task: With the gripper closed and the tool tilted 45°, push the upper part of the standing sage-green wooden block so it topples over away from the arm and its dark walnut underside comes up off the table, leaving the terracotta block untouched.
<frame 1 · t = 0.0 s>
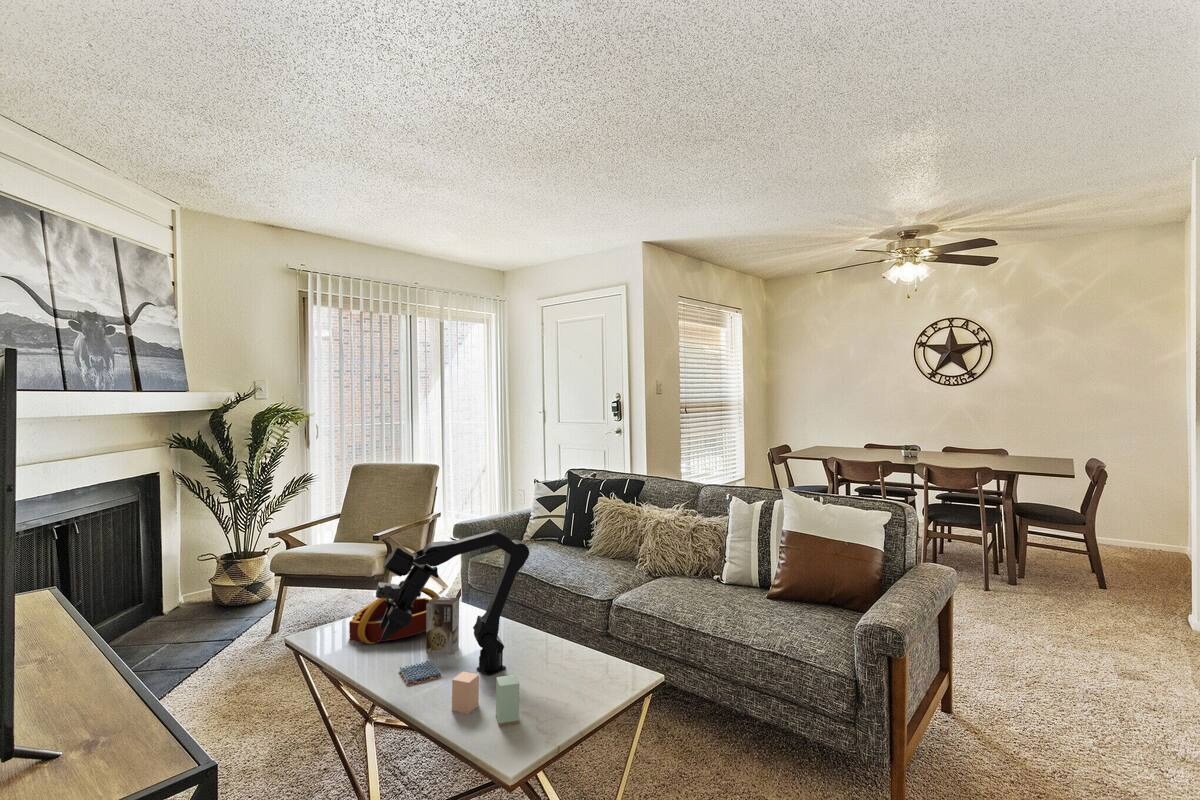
hand: (381, 633, 163), 15 cm above the table, tool tilted 35°, fingers open, 9 cm apart
woven mat: (420, 677, 170), on the table
coffee box: (442, 650, 188), on the table
terracotta block: (465, 707, 152), on the table
sage block: (507, 720, 146), on the table
decorative basket: (402, 631, 205), on the table
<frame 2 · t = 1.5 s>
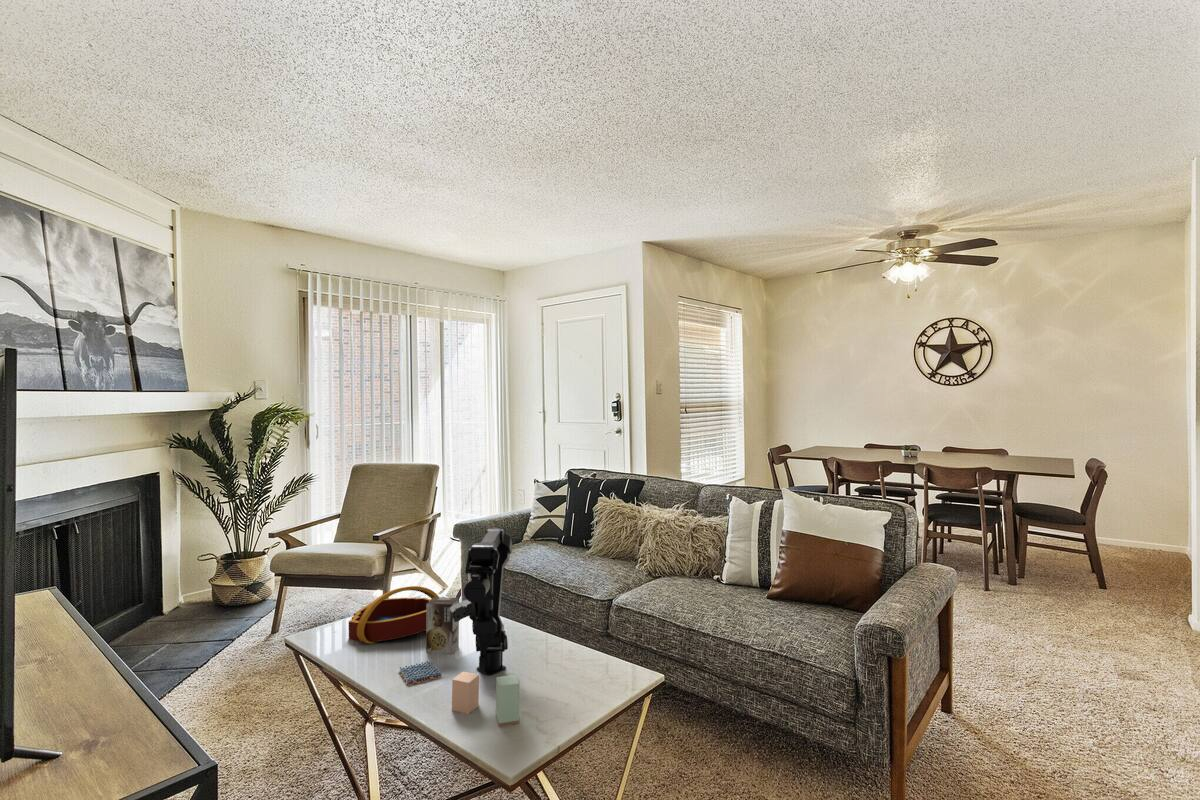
hand: (481, 647, 159), 13 cm above the table, tool pointing down, fingers open, 8 cm apart
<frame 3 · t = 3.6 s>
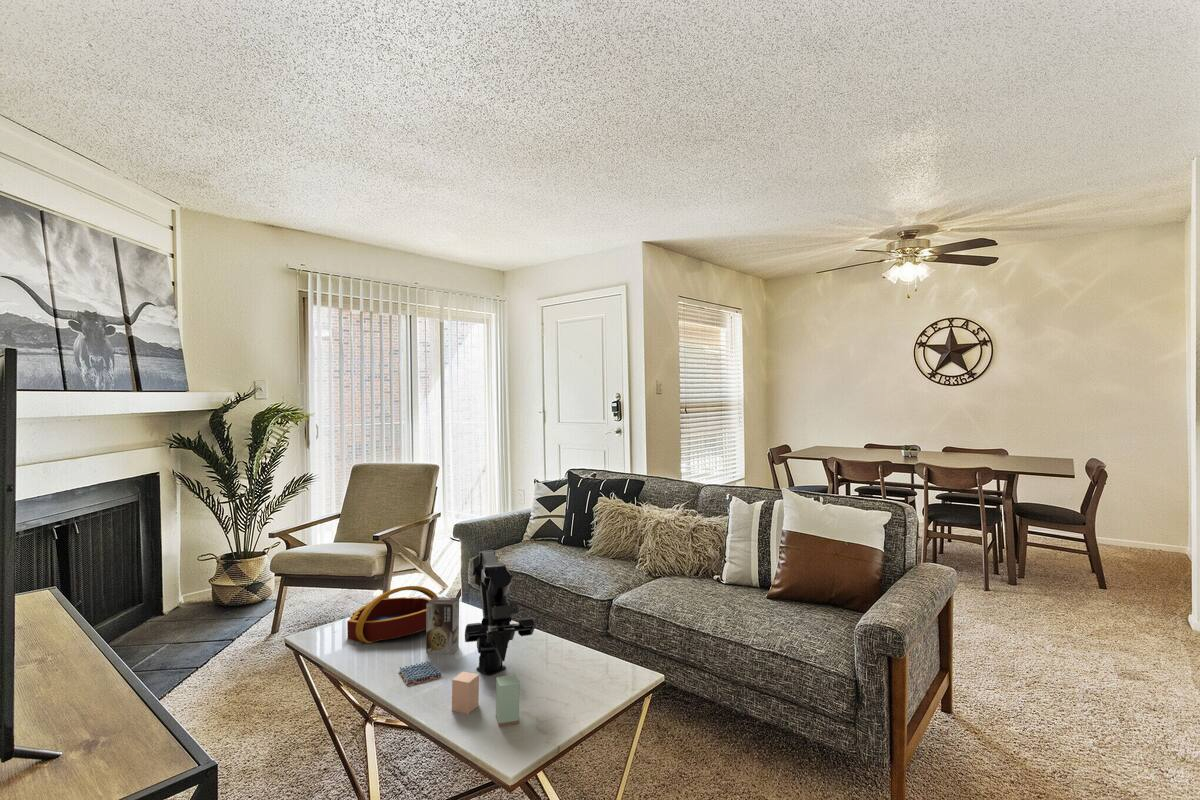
hand: (503, 660, 153), 12 cm above the table, tool tilted 45°, fingers closed
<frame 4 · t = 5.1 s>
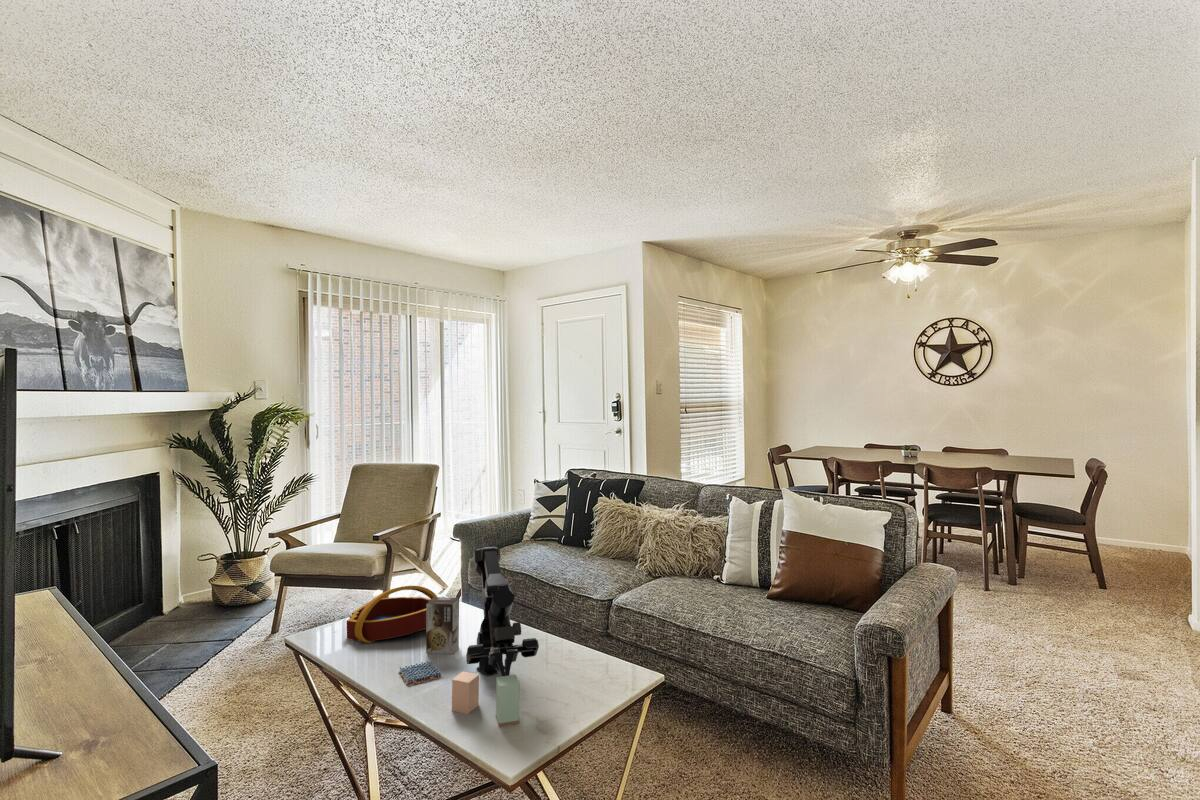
hand: (505, 683, 149), 8 cm above the table, tool tilted 45°, fingers closed, pressing on sage block
sage block: (507, 719, 146), on the table, touching gripper
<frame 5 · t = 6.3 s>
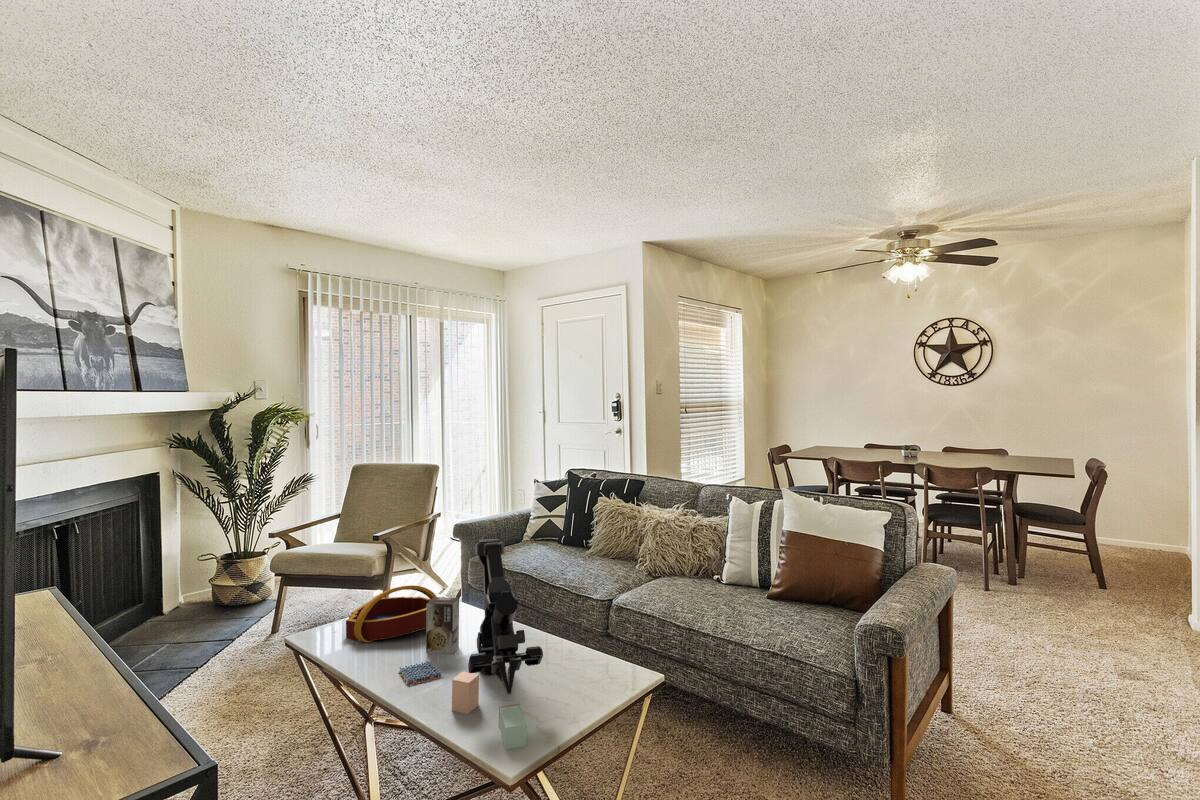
hand: (509, 693, 144), 8 cm above the table, tool tilted 45°, fingers closed
sage block: (509, 715, 144), point 2 cm above the table, tilted 90°
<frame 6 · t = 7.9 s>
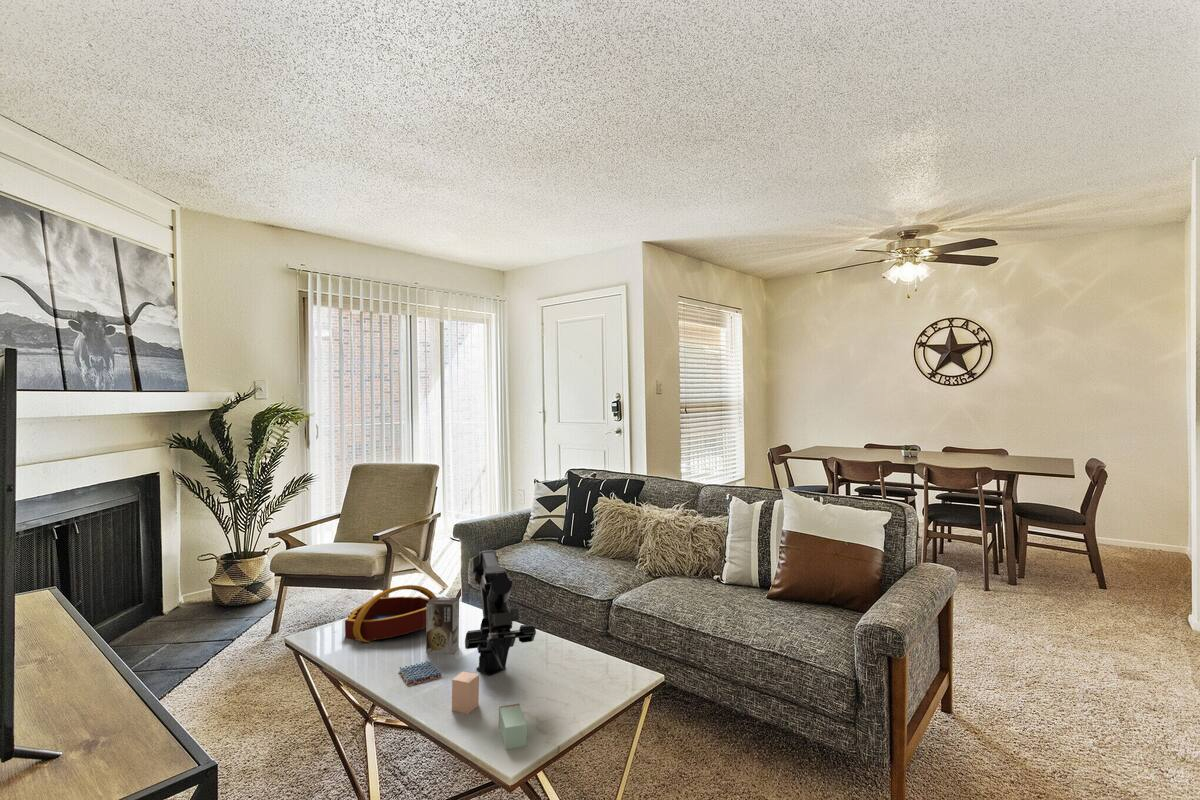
hand: (503, 668, 153), 10 cm above the table, tool tilted 45°, fingers closed
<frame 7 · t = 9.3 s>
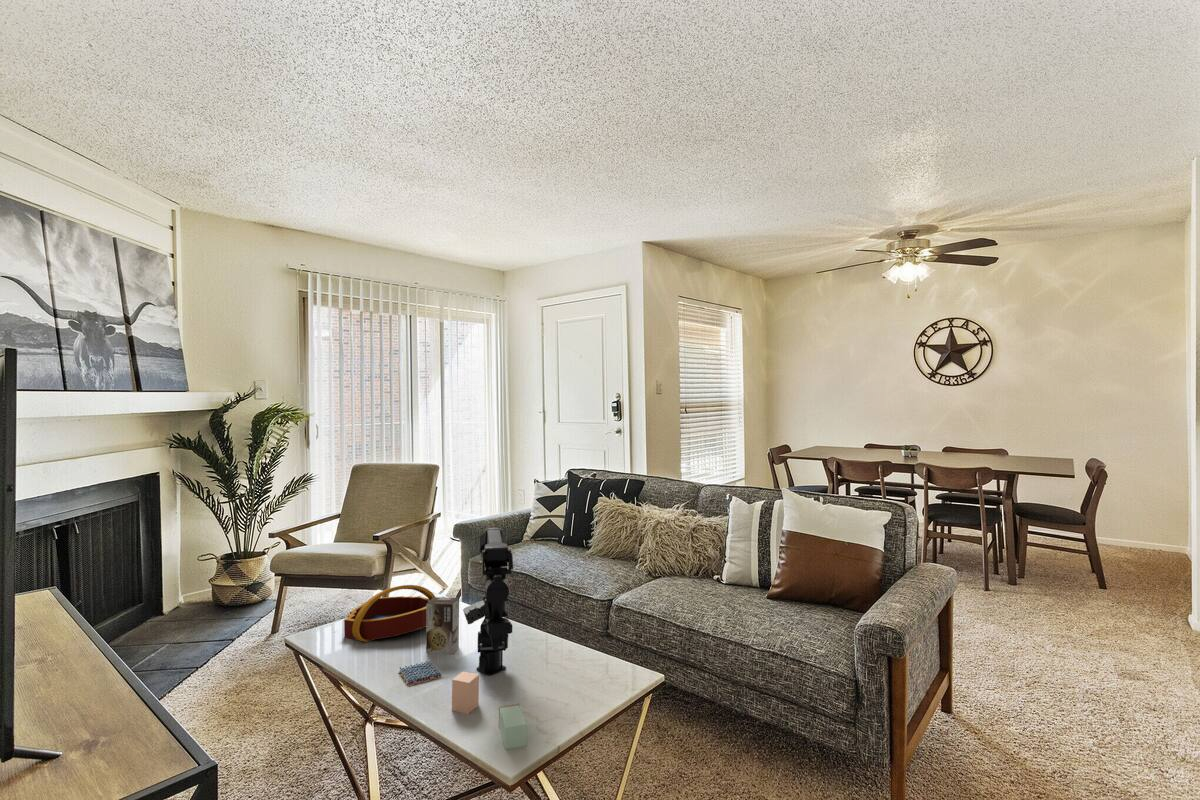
hand: (494, 650, 157), 13 cm above the table, tool pointing down, fingers closed
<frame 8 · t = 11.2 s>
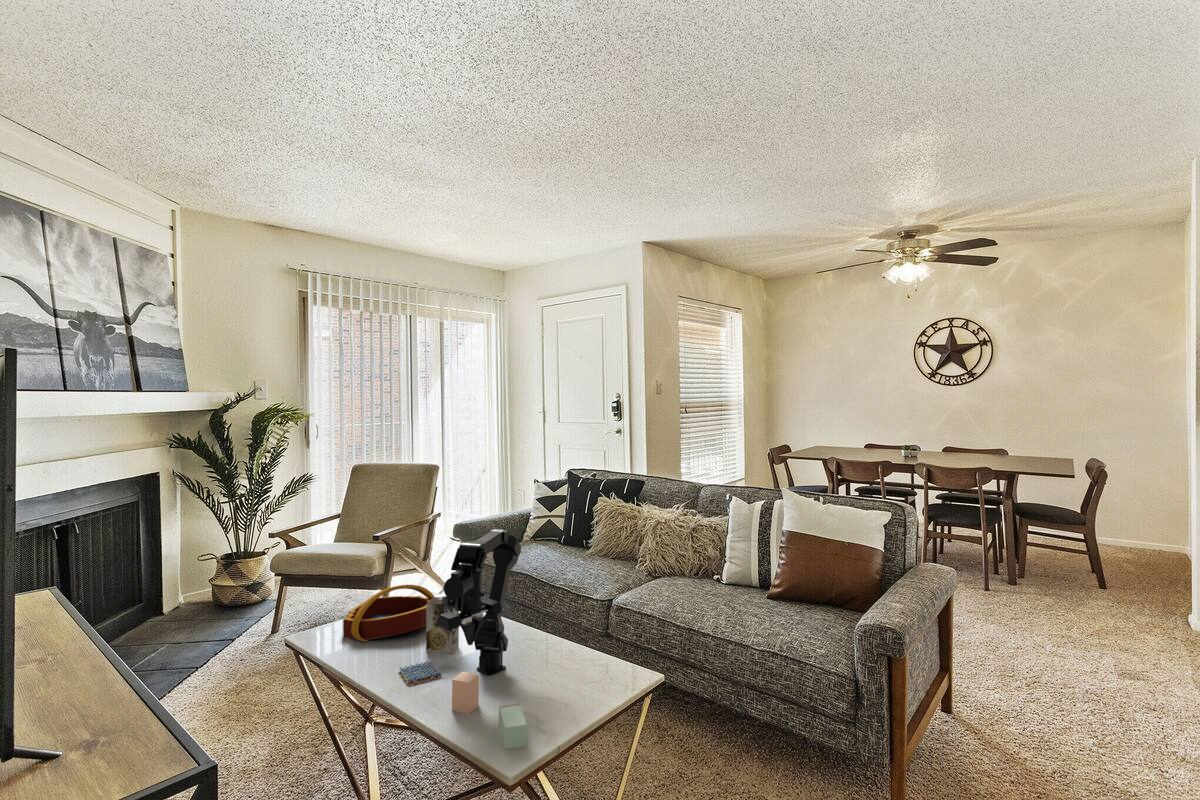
hand: (470, 644, 161), 13 cm above the table, tool pointing down, fingers closed
at the end: sage block tilted 90°; sage block inside the target area (3.3 cm from its centre), point 2.4 cm above the table; terracotta block tilted 0° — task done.
